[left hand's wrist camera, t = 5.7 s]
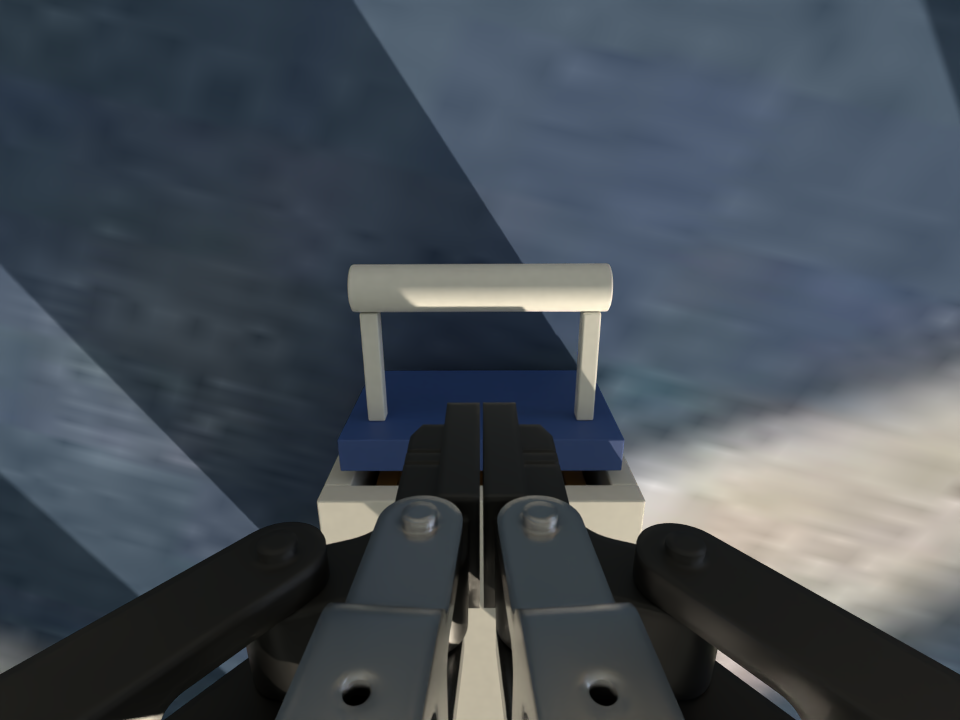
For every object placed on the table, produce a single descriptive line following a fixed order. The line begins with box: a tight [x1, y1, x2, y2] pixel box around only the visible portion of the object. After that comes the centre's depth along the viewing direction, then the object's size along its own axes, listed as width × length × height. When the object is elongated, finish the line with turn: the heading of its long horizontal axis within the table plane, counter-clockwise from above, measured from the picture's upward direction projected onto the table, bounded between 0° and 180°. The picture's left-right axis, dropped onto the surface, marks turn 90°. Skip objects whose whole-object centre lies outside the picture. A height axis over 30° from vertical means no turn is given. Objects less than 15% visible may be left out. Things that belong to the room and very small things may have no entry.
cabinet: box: [317, 454, 645, 720], centre depth 25 cm, size 16×11×8 cm, turn 0°
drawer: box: [337, 264, 624, 486], centre depth 23 cm, size 21×10×6 cm, turn 0°
